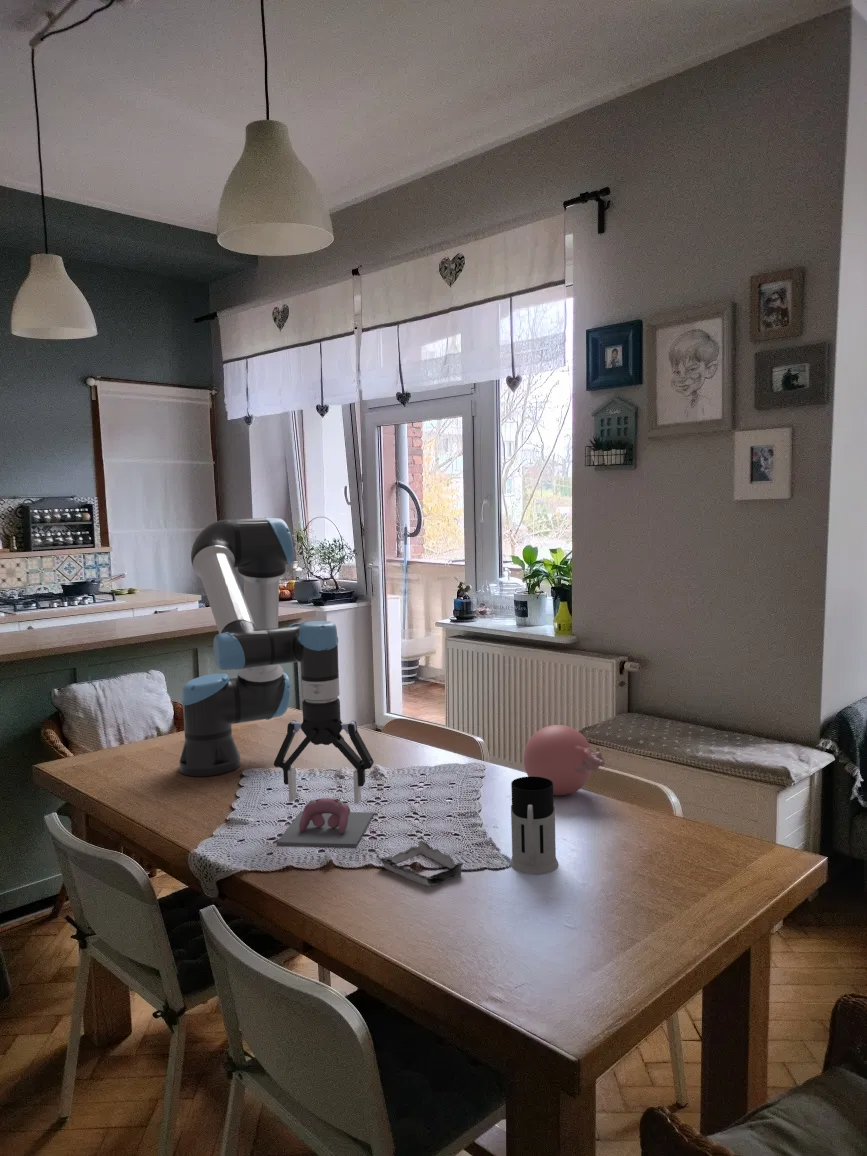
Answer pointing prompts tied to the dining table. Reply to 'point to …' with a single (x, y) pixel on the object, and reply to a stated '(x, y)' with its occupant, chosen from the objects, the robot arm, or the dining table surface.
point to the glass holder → (533, 826)
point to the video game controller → (325, 805)
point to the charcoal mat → (327, 832)
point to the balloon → (561, 758)
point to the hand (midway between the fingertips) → (325, 800)
